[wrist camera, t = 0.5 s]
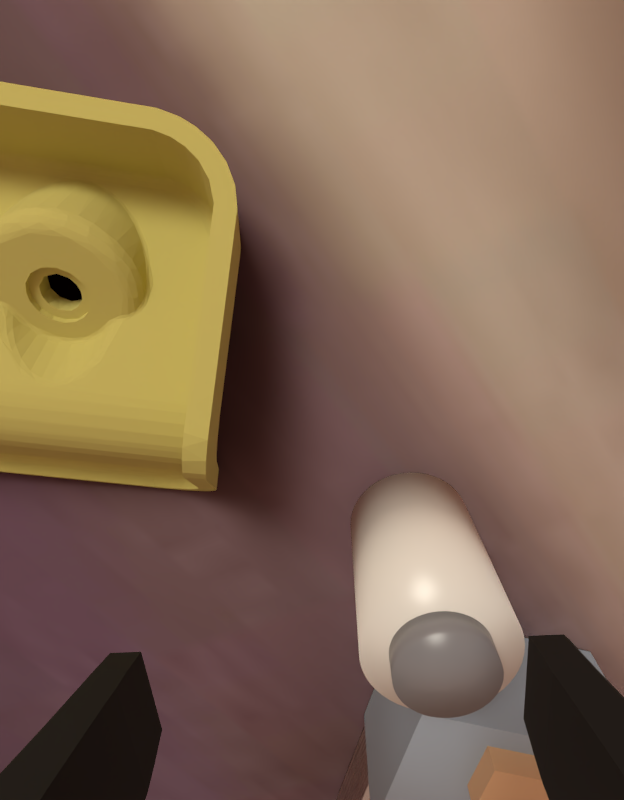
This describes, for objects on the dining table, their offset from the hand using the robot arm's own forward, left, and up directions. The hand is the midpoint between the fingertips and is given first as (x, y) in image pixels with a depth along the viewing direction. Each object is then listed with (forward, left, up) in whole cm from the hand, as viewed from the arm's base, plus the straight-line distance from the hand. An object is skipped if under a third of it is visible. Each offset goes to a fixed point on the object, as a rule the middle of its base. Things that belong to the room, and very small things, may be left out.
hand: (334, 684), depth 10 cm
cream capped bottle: (-3, +2, -10) cm, 10 cm away
